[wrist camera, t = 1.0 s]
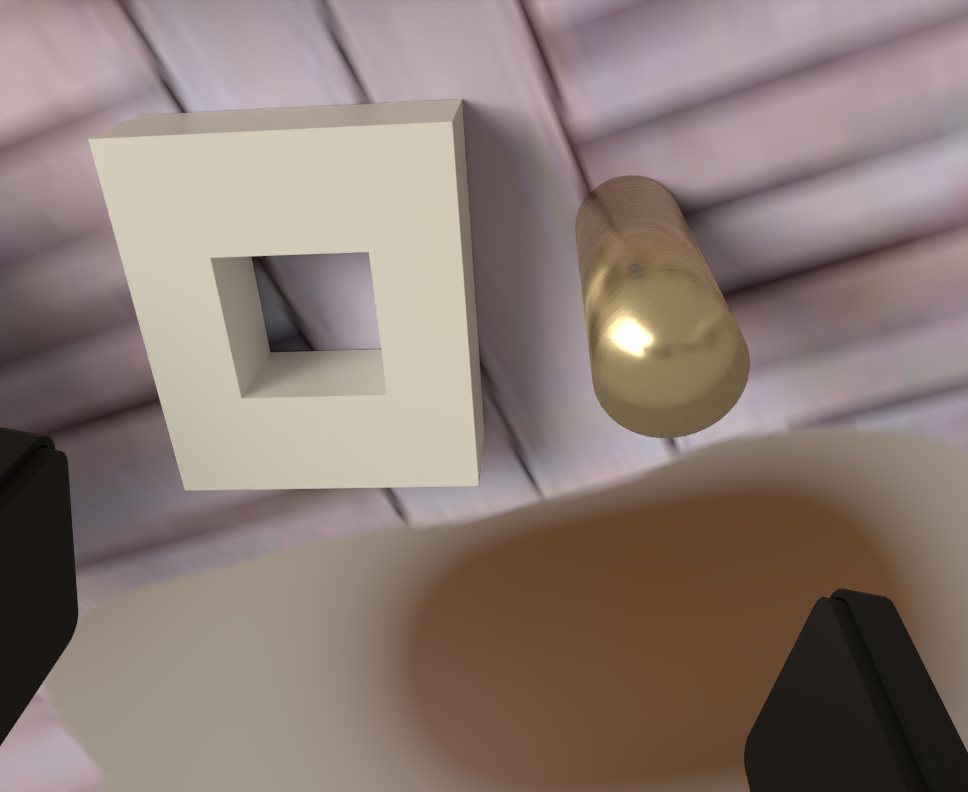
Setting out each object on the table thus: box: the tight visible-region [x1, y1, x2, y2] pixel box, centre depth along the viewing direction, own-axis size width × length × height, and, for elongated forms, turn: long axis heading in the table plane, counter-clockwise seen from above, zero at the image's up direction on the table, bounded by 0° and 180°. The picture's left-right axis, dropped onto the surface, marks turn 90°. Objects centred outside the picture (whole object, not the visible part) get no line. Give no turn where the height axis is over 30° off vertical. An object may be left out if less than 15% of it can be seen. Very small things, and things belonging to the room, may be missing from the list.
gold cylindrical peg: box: [575, 176, 750, 438], centre depth 27 cm, size 4×4×12 cm
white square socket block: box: [89, 99, 485, 491], centre depth 33 cm, size 12×14×4 cm
